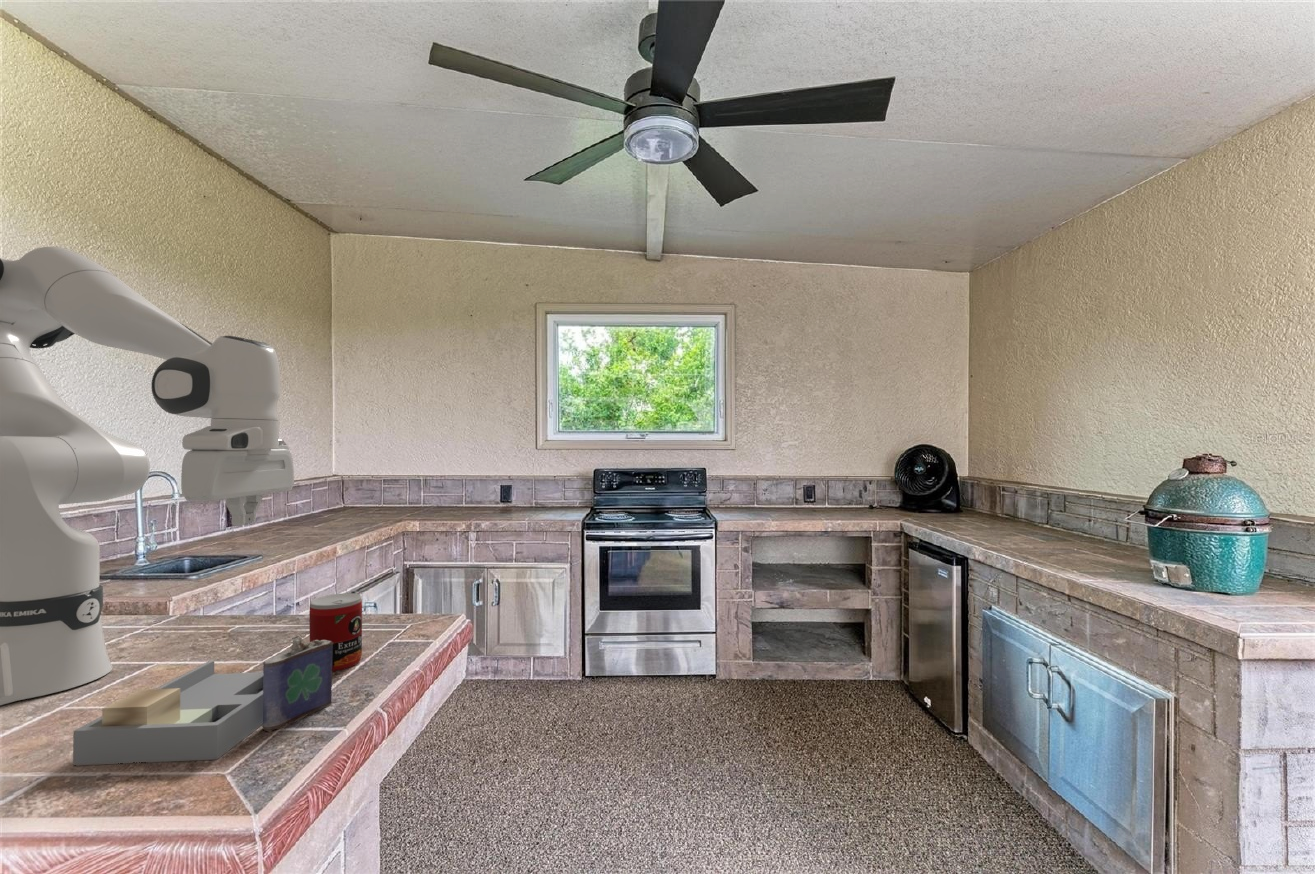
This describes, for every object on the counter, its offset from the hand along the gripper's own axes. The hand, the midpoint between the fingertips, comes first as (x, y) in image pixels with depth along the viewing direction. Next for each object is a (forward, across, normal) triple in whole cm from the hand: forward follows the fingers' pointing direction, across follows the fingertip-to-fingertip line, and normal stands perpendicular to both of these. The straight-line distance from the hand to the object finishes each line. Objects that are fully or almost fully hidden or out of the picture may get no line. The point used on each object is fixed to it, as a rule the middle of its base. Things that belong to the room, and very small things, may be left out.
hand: (243, 524), depth 88 cm
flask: (+24, +12, +17) cm, 32 cm away
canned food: (+25, -6, +12) cm, 28 cm away
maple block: (+22, +20, +2) cm, 30 cm away
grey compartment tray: (+24, +13, +5) cm, 28 cm away
